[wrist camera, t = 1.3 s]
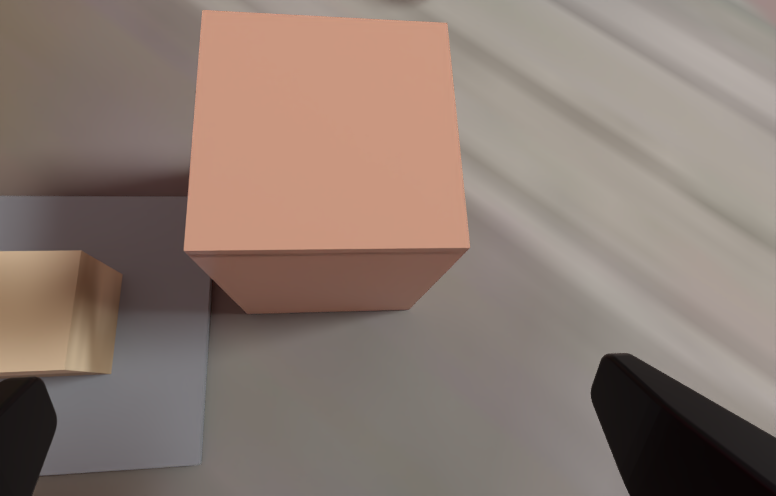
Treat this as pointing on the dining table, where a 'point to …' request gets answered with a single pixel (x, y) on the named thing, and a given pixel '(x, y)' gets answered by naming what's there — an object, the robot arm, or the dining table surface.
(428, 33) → the salmon pink box
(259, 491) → the dining table surface
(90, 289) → the block
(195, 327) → the mat
